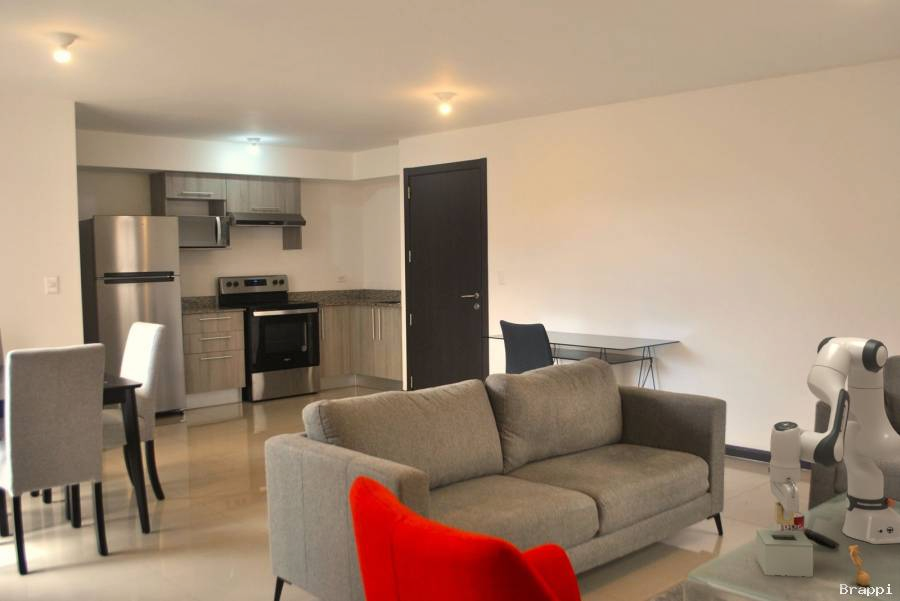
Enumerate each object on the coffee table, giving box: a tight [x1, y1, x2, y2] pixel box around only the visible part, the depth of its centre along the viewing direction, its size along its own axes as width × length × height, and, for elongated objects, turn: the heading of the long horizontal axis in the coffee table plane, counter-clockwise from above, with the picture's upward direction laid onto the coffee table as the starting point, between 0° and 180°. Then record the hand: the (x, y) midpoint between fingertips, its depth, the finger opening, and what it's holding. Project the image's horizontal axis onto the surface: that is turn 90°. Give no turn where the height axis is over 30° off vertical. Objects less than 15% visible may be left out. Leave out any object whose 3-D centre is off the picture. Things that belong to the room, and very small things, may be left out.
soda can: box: [780, 511, 805, 534], centre depth 266 cm, size 7×7×12 cm
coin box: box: [756, 529, 814, 578], centre depth 251 cm, size 14×12×10 cm
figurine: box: [847, 544, 871, 587], centre depth 238 cm, size 8×6×12 cm
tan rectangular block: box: [774, 502, 794, 525], centre depth 249 cm, size 5×3×6 cm, turn 81°
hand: (784, 517), depth 250 cm, fingers closed on tan rectangular block, 3 cm apart
